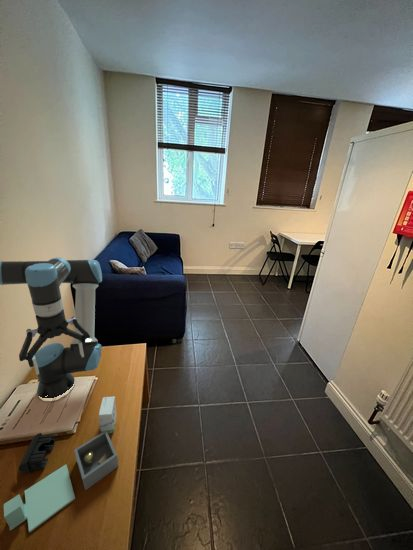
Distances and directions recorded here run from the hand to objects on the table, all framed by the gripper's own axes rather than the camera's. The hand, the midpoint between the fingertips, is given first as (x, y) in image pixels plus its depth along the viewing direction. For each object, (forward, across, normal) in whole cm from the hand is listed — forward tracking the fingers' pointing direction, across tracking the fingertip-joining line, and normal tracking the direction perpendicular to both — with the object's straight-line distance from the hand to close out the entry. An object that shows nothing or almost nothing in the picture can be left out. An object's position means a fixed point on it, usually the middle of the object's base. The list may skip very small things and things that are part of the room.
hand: (61, 363), depth 79 cm
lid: (+35, -13, -19) cm, 42 cm away
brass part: (+34, +1, -17) cm, 38 cm away
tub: (+35, +3, -19) cm, 40 cm away
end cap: (+35, -12, -4) cm, 37 cm away
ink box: (+35, +11, -7) cm, 37 cm away
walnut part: (+34, +5, -21) cm, 41 cm away
